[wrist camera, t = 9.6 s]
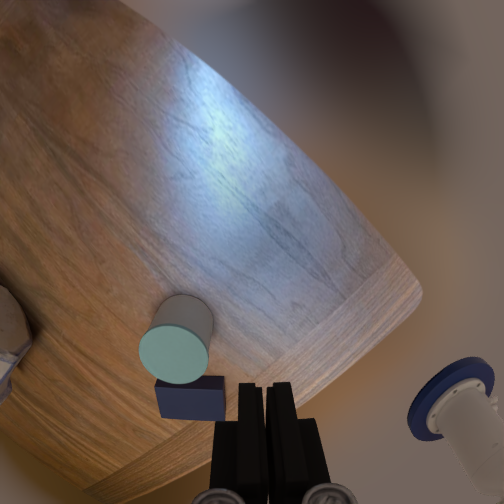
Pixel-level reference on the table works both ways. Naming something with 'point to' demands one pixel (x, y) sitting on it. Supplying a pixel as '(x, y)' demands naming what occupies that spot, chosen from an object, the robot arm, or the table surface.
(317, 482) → the robot arm
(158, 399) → the dark rectangular block
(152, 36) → the table surface
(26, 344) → the potted plant
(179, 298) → the beige cylinder teal cap
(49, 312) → the table surface
